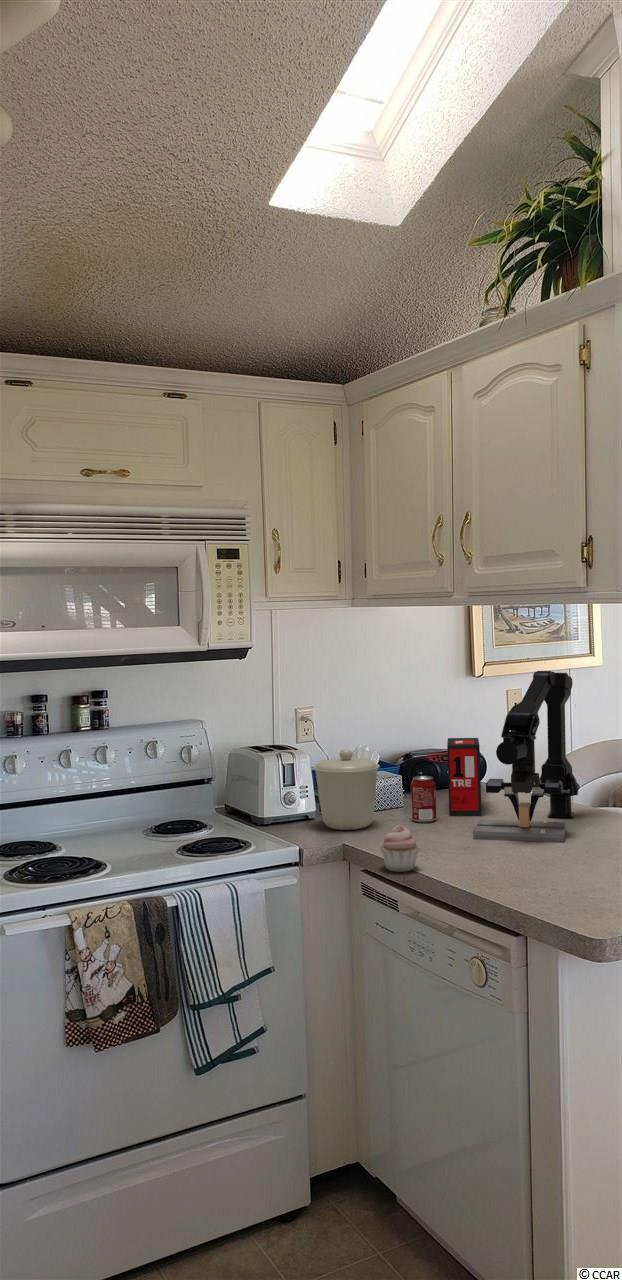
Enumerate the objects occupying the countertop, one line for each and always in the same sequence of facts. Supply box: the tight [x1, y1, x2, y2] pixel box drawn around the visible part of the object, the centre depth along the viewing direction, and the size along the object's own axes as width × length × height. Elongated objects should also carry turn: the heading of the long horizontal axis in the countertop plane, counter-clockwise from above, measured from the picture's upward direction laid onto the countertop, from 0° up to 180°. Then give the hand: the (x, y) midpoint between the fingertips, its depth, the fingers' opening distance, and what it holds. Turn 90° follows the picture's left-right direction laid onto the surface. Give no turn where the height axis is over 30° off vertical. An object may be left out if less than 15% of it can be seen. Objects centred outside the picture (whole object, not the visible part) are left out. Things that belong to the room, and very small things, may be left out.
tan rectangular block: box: [518, 801, 532, 828], centre depth 238 cm, size 6×2×6 cm, turn 162°
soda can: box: [410, 775, 437, 824], centre depth 258 cm, size 7×7×12 cm
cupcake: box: [378, 823, 421, 873], centre depth 209 cm, size 9×9×10 cm
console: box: [472, 818, 567, 843], centre depth 238 cm, size 14×22×2 cm, turn 72°
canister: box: [312, 748, 381, 831], centre depth 254 cm, size 18×18×21 cm
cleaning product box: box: [446, 737, 482, 817], centre depth 270 cm, size 16×9×20 cm, turn 171°
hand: (524, 820), depth 238 cm, fingers closed on tan rectangular block, 2 cm apart
